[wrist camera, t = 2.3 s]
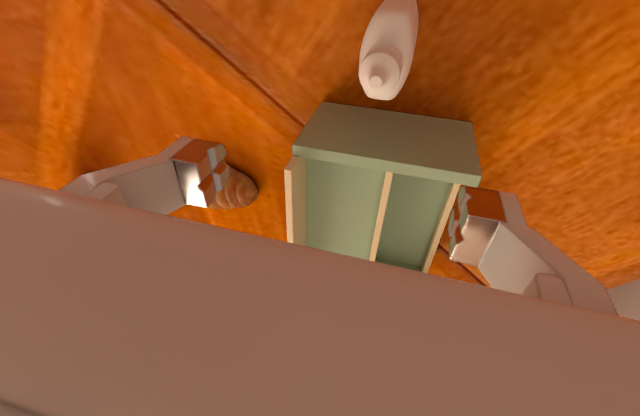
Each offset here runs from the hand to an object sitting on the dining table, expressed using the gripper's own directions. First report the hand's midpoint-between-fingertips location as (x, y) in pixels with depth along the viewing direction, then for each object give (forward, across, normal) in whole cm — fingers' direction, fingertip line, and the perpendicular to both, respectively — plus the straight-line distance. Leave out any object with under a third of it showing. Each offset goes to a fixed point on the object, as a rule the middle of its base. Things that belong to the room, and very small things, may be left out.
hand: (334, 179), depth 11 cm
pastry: (+22, +19, +18) cm, 34 cm away
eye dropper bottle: (+22, 0, 0) cm, 22 cm away
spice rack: (+21, -1, +15) cm, 26 cm away
